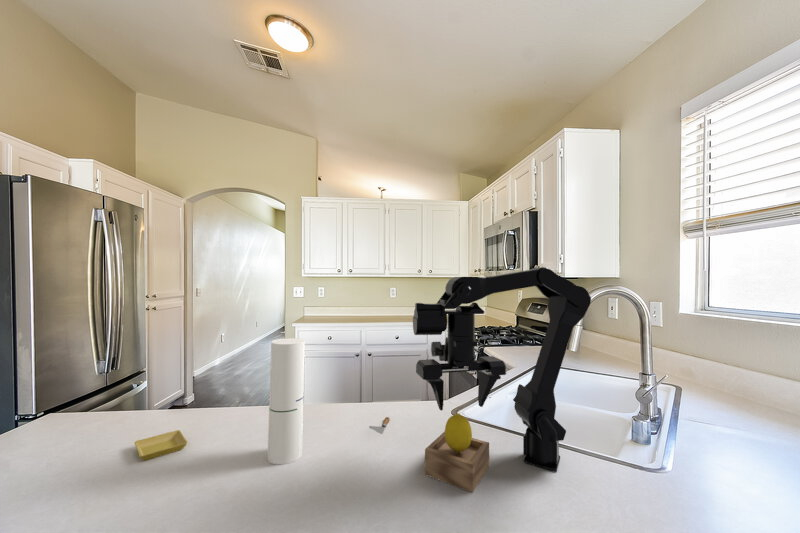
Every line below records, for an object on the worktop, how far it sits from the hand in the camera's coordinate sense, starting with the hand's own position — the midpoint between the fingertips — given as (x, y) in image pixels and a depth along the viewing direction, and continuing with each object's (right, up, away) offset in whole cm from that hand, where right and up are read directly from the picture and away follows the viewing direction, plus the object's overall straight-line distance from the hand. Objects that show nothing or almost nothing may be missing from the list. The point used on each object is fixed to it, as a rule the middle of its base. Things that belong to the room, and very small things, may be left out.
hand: (460, 407), depth 70 cm
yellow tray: (-67, -12, +4) cm, 68 cm away
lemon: (-1, -8, -3) cm, 9 cm away
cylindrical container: (-38, -12, +2) cm, 40 cm away
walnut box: (-1, -12, -3) cm, 12 cm away
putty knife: (-19, -13, +15) cm, 28 cm away
